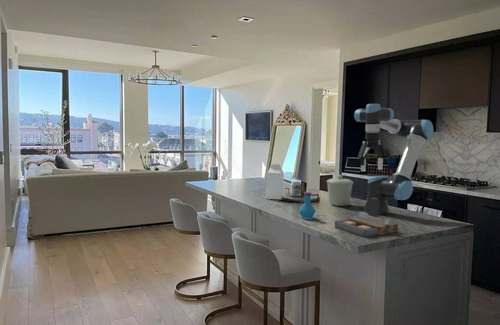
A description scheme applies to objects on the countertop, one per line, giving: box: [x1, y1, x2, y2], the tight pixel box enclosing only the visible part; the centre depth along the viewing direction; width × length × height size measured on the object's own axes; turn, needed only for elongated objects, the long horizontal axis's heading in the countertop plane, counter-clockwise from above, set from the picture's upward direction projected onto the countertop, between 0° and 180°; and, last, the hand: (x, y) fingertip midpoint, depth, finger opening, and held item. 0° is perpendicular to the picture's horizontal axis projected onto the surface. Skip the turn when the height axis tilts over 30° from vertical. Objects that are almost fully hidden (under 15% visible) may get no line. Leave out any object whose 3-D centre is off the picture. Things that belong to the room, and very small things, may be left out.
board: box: [347, 217, 399, 236], centre depth 198 cm, size 15×20×4 cm
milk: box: [264, 163, 285, 200], centre depth 284 cm, size 12×12×26 cm
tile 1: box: [342, 221, 356, 227], centre depth 197 cm, size 5×5×2 cm
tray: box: [334, 219, 378, 238], centre depth 192 cm, size 8×21×4 cm, turn 29°
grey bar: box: [357, 198, 390, 225], centre depth 197 cm, size 3×18×12 cm, turn 28°
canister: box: [326, 174, 354, 207], centre depth 262 cm, size 18×18×21 cm
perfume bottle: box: [298, 191, 316, 220], centre depth 220 cm, size 9×9×15 cm
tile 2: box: [357, 225, 372, 230], centre depth 188 cm, size 5×5×2 cm
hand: (371, 170), depth 211 cm, fingers open, 13 cm apart
